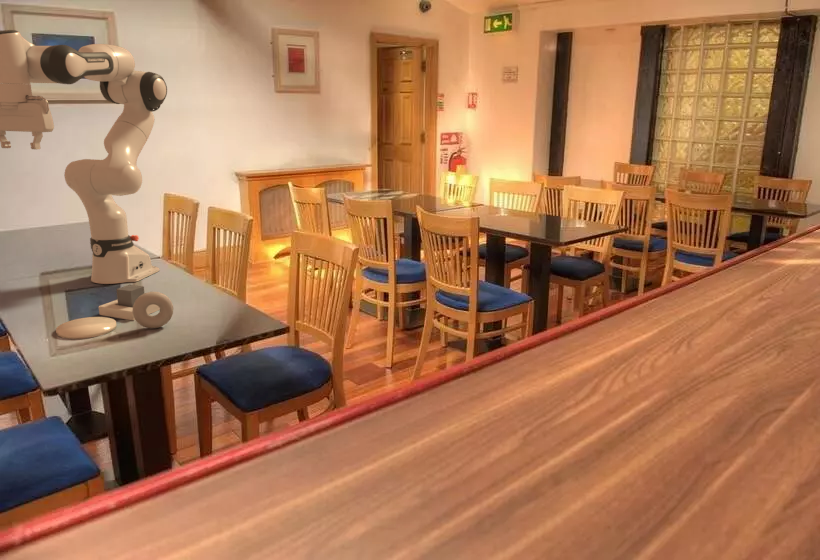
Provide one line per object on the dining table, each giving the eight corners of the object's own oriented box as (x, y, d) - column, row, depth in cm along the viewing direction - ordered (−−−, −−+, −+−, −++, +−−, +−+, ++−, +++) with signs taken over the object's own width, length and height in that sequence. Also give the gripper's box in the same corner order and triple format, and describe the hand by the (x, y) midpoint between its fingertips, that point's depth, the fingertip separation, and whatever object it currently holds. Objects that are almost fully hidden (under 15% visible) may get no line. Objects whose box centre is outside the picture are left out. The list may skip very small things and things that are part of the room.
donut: (134, 332, 164) (130, 295, 161) (134, 328, 167) (130, 291, 164) (175, 327, 168) (172, 291, 165) (174, 323, 171) (171, 288, 168)
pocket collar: (131, 302, 187) (130, 294, 187) (164, 307, 183) (163, 299, 183) (99, 314, 176) (98, 306, 176) (133, 320, 172) (132, 311, 172)
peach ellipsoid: (88, 317, 174) (87, 314, 174) (128, 324, 169) (128, 320, 169) (43, 334, 161) (43, 330, 161) (85, 342, 157) (85, 338, 157)
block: (132, 307, 183) (129, 284, 181) (146, 310, 181) (143, 286, 179) (119, 312, 178) (116, 289, 177) (133, 315, 177) (130, 291, 175)
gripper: (55, 96, 168) (62, 149, 172) (-9, 94, 172) (-1, 146, 176) (37, 95, 162) (45, 150, 166) (-30, 94, 166) (-20, 148, 170)
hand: (21, 148), depth 171 cm, fingers open, 8 cm apart
